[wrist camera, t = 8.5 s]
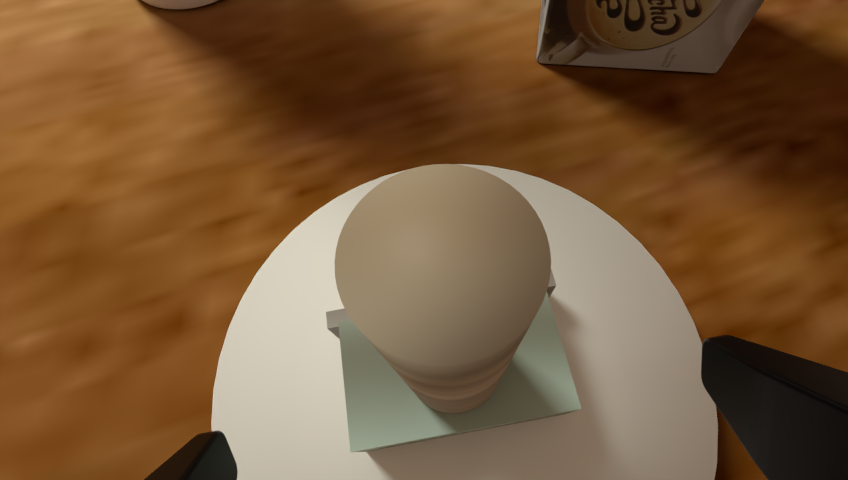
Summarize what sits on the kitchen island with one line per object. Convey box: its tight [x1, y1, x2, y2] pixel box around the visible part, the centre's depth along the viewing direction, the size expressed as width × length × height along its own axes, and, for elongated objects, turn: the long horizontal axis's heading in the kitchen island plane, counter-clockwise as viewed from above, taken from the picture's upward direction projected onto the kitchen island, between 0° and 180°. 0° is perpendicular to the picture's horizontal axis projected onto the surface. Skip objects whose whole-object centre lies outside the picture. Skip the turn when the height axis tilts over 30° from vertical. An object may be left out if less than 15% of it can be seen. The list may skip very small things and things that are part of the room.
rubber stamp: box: [326, 164, 581, 452], centre depth 12 cm, size 5×8×12 cm, turn 100°
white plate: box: [211, 164, 718, 480], centre depth 18 cm, size 18×18×2 cm
